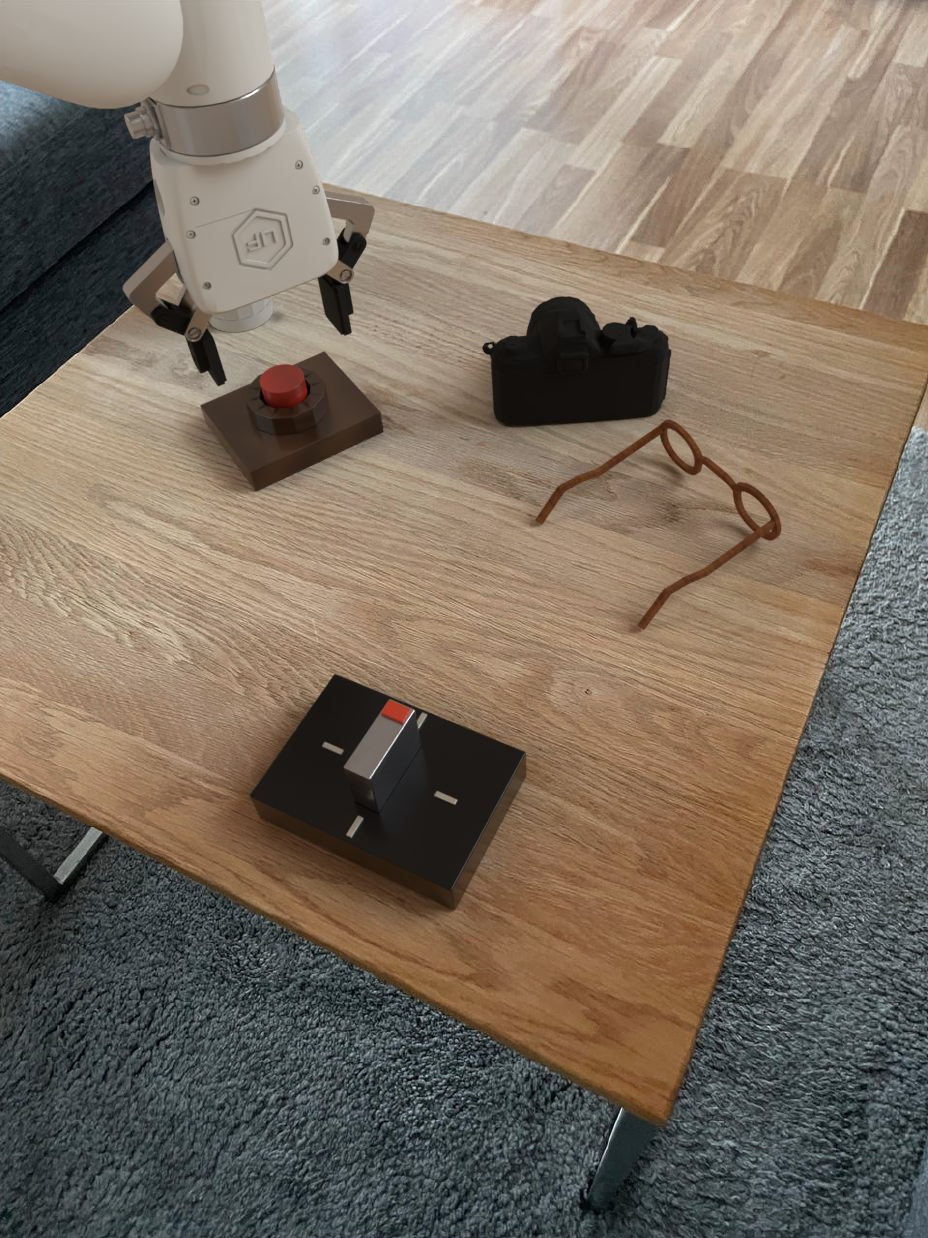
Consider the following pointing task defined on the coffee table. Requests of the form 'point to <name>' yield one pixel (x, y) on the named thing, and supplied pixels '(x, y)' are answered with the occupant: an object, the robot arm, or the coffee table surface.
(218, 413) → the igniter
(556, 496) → the glasses
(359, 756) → the hob knob
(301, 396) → the button
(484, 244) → the coffee table surface
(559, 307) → the film camera
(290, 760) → the black square plate
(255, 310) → the cup
